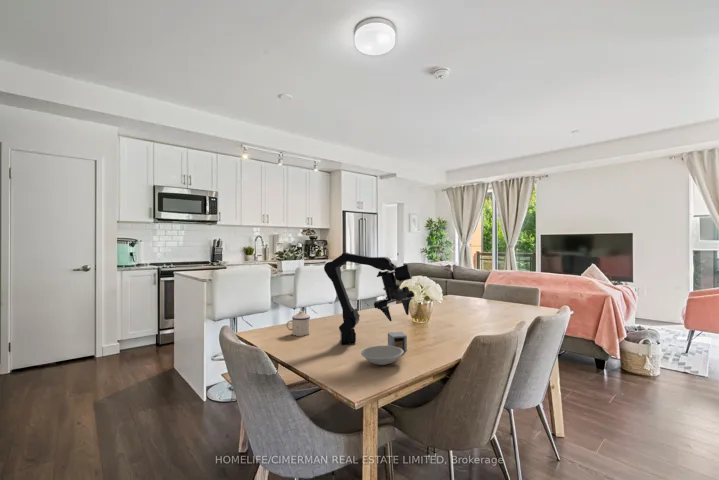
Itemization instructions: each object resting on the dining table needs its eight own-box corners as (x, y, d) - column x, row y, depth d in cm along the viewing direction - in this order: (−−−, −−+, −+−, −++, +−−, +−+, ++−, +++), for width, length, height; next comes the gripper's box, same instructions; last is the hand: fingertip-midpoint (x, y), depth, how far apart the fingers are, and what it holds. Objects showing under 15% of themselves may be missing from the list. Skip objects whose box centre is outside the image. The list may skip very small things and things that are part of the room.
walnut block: (394, 350, 151) (394, 341, 151) (391, 347, 155) (391, 339, 155) (402, 350, 152) (402, 341, 152) (399, 347, 156) (399, 338, 156)
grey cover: (392, 351, 150) (392, 336, 149) (387, 346, 156) (387, 332, 156) (406, 350, 151) (406, 335, 151) (401, 346, 157) (401, 331, 157)
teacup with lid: (307, 330, 182) (307, 308, 182) (312, 335, 174) (312, 312, 174) (284, 333, 178) (284, 310, 178) (288, 338, 169) (288, 314, 169)
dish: (375, 375, 124) (375, 361, 124) (353, 363, 136) (353, 350, 136) (412, 365, 133) (412, 352, 133) (388, 355, 145) (388, 343, 145)
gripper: (381, 289, 145) (391, 325, 144) (416, 277, 153) (426, 312, 152) (369, 290, 155) (378, 324, 154) (403, 279, 163) (412, 311, 162)
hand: (399, 317), depth 156 cm, fingers open, 9 cm apart
